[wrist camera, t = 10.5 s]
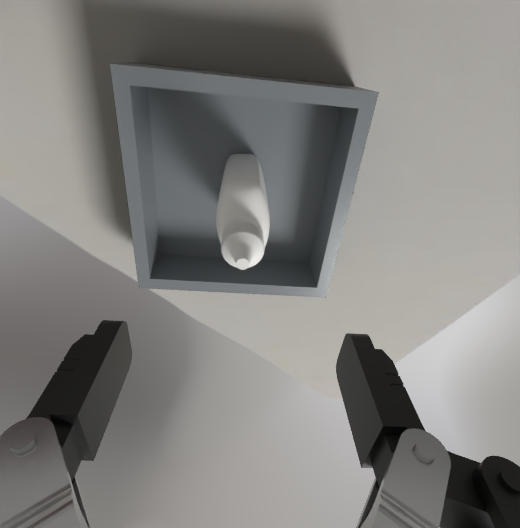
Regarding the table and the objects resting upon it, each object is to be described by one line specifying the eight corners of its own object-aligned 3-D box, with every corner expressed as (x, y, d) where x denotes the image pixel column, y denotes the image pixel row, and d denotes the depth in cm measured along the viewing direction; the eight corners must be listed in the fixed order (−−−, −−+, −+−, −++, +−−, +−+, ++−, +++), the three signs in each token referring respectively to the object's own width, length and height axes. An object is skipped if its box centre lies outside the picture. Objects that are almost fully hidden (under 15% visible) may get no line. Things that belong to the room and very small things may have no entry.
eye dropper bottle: (283, 169, 26) (307, 239, 16) (250, 225, 29) (253, 315, 19) (235, 142, 25) (228, 199, 15) (205, 203, 27) (182, 287, 17)
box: (134, 62, 23) (109, 63, 19) (355, 86, 24) (378, 92, 20) (153, 257, 31) (138, 287, 27) (315, 266, 33) (326, 297, 28)
